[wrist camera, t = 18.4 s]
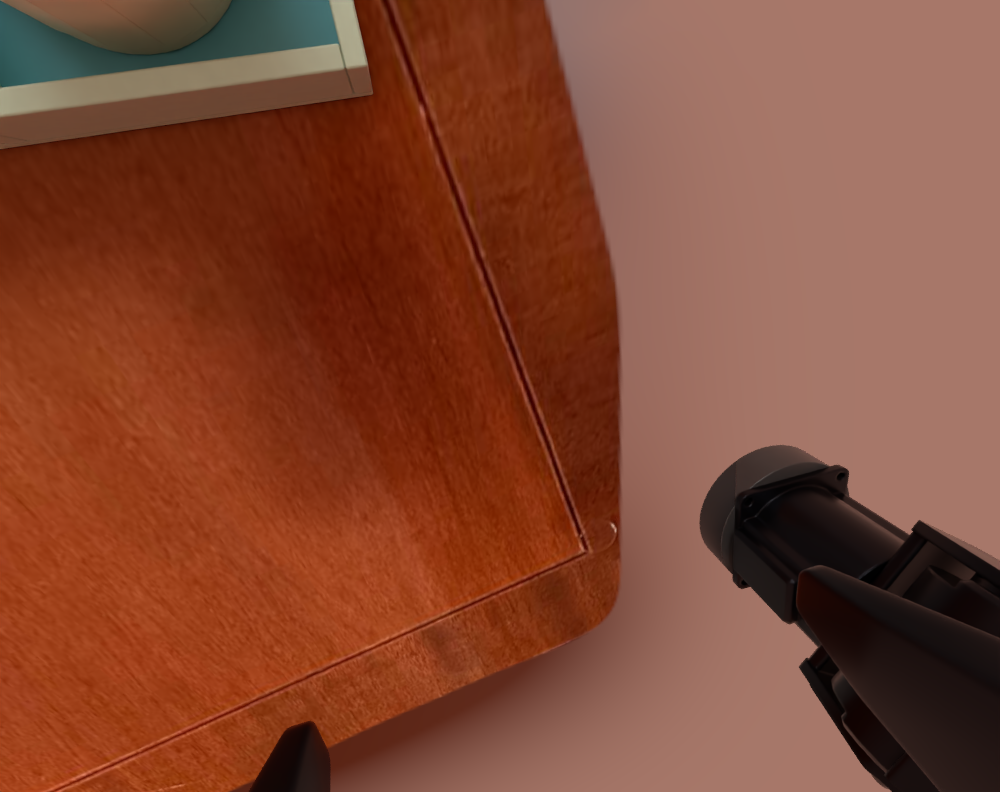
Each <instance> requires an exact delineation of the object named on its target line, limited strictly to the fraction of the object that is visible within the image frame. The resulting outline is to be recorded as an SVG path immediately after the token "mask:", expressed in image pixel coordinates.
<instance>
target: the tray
mask: <svg viewBox="0 0 1000 792" xmlns="http://www.w3.org/2000/svg"><path fill="white" fill-rule="evenodd" d="M372 94H373V90H372V84H371V79H370V73H369V68H368V62H367V58H366V54H365V49H364V45H363V40H362V36H361V32H360V27H359V23H358V18H357V14H356V10H355V5H354V1H353V0H232V1H231V3H230V5H229V7H228V9H227V10H226V12H225V13H224V14H223V16H222V17H221V19H220V20H219V21H218V23H217V24H216V25H215V26H214V27H213V28H212V29H211V30H210V31H209V32H208V33H206V34H205V35H203V36H202V37H201V38H199V39H198V40H196V41H195V42H193V43H191V44H189V45H187V46H185V47H182V48H180V49H176V50H173V51H169V52H166V53H158V54H151V55H145V54H127V53H121V52H114V51H111V50H107V49H104V48H100V47H97V46H94V45H92V44H89V43H87V42H84V41H82V40H79V39H77V38H75V37H73V36H71V35H69V34H66V33H63V32H60V31H57V30H55V29H53V28H51V27H49V26H48V25H46V24H44V23H42V22H40V21H38V20H36V19H34V18H32V17H31V16H29V15H27V14H25V13H23V12H21V11H19V10H17V9H15V8H14V7H12V6H10V5H8V4H6V3H4V2H2V1H0V149H5V148H12V147H19V146H26V145H33V144H39V143H46V142H53V141H60V140H67V139H74V138H80V137H87V136H94V135H101V134H108V133H115V132H121V131H128V130H135V129H142V128H149V127H156V126H162V125H169V124H176V123H183V122H190V121H197V120H203V119H210V118H217V117H224V116H231V115H238V114H244V113H251V112H258V111H265V110H272V109H279V108H285V107H292V106H299V105H306V104H313V103H320V102H326V101H333V100H340V99H347V98H354V97H361V96H367V95H372Z"/></svg>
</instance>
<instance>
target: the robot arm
mask: <svg viewBox="0 0 1000 792" xmlns="http://www.w3.org/2000/svg"><path fill="white" fill-rule="evenodd" d="M848 477H849V471H848V470H847V469H846V468H844V467H842V466H840V465H834V466H830V467H827V468H823V469H819V470H816V471H812V472H809V473H805V474H801V475H798V476H794V477H790V478H787V479H783V480H780V481H776V482H772V483H769V484H765V485H762V486H758V487H754V488H751V489H747V490H744V491H742V492H740V493H739V494H738V495H737V497H736V500H735V524H734V541H733V582H734V583H735V584H736V585H737V586H738V587H739V588H741V589H744V588H747V587H751V588H752V589H753V590H754V591H755V592H756V593H757V594H758V595H759V596H760V597H761V598H762V599H763V600H764V602H765V603H766V604H767V605H768V606H769V607H770V608H771V609H772V610H773V611H774V612H775V613H776V614H777V615H778V616H779V617H780V618H781V620H782V621H784V622H786V623H787V624H792V623H795V624H796V625H797V626H798V627H799V628H800V629H801V630H802V631H803V632H804V633H805V634H806V635H807V636H808V637H809V638H810V639H811V640H812V641H813V642H814V643H815V645H817V647H818V648H817V649H816V650H815V651H814V653H813V654H812V655H811V656H810V658H806V659H805V660H804V661H803V662H802V663H801V665H800V666H799V668H800V670H801V671H802V673H803V674H804V676H805V677H806V678H807V680H808V682H809V683H810V686H811V688H812V689H813V691H814V693H815V694H816V696H817V697H818V699H819V700H820V702H821V703H822V705H823V706H824V708H825V709H826V711H827V712H828V714H829V715H830V717H831V718H832V720H833V722H834V723H835V725H836V726H837V728H838V729H839V731H840V732H841V734H842V735H843V737H844V738H845V740H846V741H847V743H848V744H849V746H850V747H851V749H852V751H853V752H854V754H855V755H856V757H857V758H858V760H859V761H860V763H861V764H862V765H863V767H864V768H865V769H866V770H867V771H868V772H869V773H871V774H872V776H873V778H874V779H875V780H876V781H877V782H878V783H879V784H880V785H882V786H883V787H884V788H886V789H890V790H891V791H892V792H1000V561H999V560H998V559H996V558H994V557H992V556H991V555H989V554H987V553H985V552H983V551H982V550H980V549H978V548H976V547H974V546H972V545H970V544H968V543H966V542H964V541H962V540H960V539H958V538H956V537H954V536H952V535H950V534H947V533H945V532H943V531H941V530H939V529H937V528H935V527H933V526H931V525H929V524H927V523H924V522H922V521H921V520H919V521H918V522H917V523H916V524H915V525H914V527H913V528H912V531H913V532H912V533H911V535H908V534H907V533H905V532H904V531H902V530H901V529H899V528H898V527H896V526H895V525H893V524H891V523H890V522H888V521H887V520H885V519H884V518H882V517H880V516H879V515H877V514H876V513H874V512H872V511H871V510H869V509H868V508H866V507H864V506H863V505H861V504H860V503H858V502H857V501H855V500H853V499H852V498H850V497H849V496H847V495H846V491H847V483H848ZM249 792H330V757H329V752H328V749H327V747H326V745H325V743H324V741H323V739H322V737H321V735H320V733H319V731H318V728H317V726H316V725H315V723H314V722H312V721H307V722H304V723H301V724H298V725H294V726H291V727H289V728H288V729H287V730H286V731H285V732H284V733H283V734H282V736H281V738H280V739H279V741H278V743H277V744H276V746H275V748H274V750H273V751H272V753H271V755H270V756H269V758H268V760H267V761H266V763H265V765H264V766H263V768H262V770H261V772H260V773H259V775H258V777H257V778H256V780H255V782H254V783H253V785H252V787H251V788H250V790H249Z"/></svg>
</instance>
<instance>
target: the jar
mask: <svg viewBox="0 0 1000 792" xmlns="http://www.w3.org/2000/svg"><path fill="white" fill-rule="evenodd" d="M0 1H2V2H4V3H6V4H8V5H10V6H12V7H14V8H15V9H17V10H19V11H21V12H23V13H25V14H27V15H29V16H31V17H32V18H34V19H36V20H38V21H40V22H42V23H44V24H46V25H48V26H49V27H51V28H53V29H55V30H57V31H60V32H63V33H66V34H69V35H71V36H73V37H75V38H77V39H79V40H82V41H84V42H87V43H89V44H92V45H94V46H97V47H100V48H104V49H107V50H111V51H114V52H121V53H127V54H145V55H151V54H158V53H166V52H169V51H173V50H176V49H180V48H182V47H185V46H187V45H189V44H191V43H193V42H195V41H196V40H198V39H199V38H201V37H202V36H203V35H205V34H206V33H208V32H209V31H210V30H211V29H212V28H213V27H214V26H215V25H216V24H217V23H218V21H219V20H220V19H221V17H222V16H223V14H224V13H225V12H226V10H227V9H228V7H229V5H230V3H231V1H232V0H0Z"/></svg>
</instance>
